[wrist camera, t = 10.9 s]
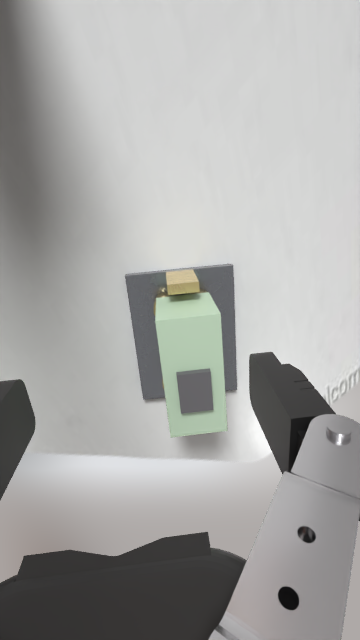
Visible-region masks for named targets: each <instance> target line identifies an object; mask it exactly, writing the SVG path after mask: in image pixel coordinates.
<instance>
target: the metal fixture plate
mask: <svg viewBox="0 0 360 640" xmlns="http://www.w3.org/2000/svg"><path fill="white" fill-rule="evenodd" d="M125 278H126V285H127V292H128V298H129V305H130V312H131V319H132V326H133V332H134V339H135V346H136V353H137V359H138V366H139V373H140V380H141V386H142V393H143V400H144V399H153V398H163V397H165V391H164V383H163V376H162V368H161V361H160V353H159V346H158V338H157V331H156V323H155V315H156V298H161V297H170V296H179V295H188V294H197V293H206V292H209V293H210V295H211V297H212V299H213V301H214V303H215V304H216V306H217V308H218V310H219V312H220V313H221V328H222V345H223V363H224V380H225V391H228V390H237V376H236V343H235V310H234V277H233V265H232V264H224V265H214V266H204V267H193V268H183V269H173V270H163V271H153V272H142V273H132V274H126V275H125Z"/></svg>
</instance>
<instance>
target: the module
mask: <svg viewBox="0 0 360 640" xmlns="http://www.w3.org/2000/svg"><path fill="white" fill-rule="evenodd" d="M155 323H156V331H157V338H158V346H159V353H160V361H161V368H162V376H163V383H164V391H165V398H166V406H167V414H168V421H169V429H170V436H171V438H172V437H180V436H188V435H197V434H205V433H214V432H222V431H227V415H226V398H225V380H224V363H223V345H222V328H221V313H220V312H219V310H218V308H217V306H216V304H215V303H214V301H213V299H212V297H211V295H210V293H209V292H206V293H197V294H188V295H179V296H170V297H161V298H156V315H155Z"/></svg>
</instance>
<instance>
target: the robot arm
mask: <svg viewBox="0 0 360 640" xmlns="http://www.w3.org/2000/svg"><path fill="white" fill-rule="evenodd" d="M249 390H250V400H251V404H252V408H253V410H254V412H255V415H256V417H257V419H258V421H259V423H260V426H261V428H262V430H263V432H264V434H265V437H266V439H267V441H268V443H269V446H270V448H271V450H272V452H273V454H274V457H275V459H276V461H277V463H278V465H279V468H280V470H281V472H282V474H283V475H282V477H281V480H280V482H279V485H278V487H277V490H276V492H275V494H274V497H273V499H272V501H271V504H270V506H269V509H268V511H267V513H266V516H265V518H264V521H263V523H262V526H261V528H260V530H259V533H258V535H257V537H256V540H255V542H254V545H253V547H252V549H251V552H250V554H249V557H248V559H247V560H245V559H243V558H241V557H239V556H237V555H235V554H233V553H230V552H227V551H224V550H220V549H215V548H210V543H209V536H208V532H204V533H196V534H188V535H180V536H173V537H165V538H161V539H159V540H156V541H154V542H152V543H149V544H147V545H144V546H142V547H139V548H137V549H134V550H132V551H129V552H127V553H124V554H122V555H119V556H106V555H100V554H93V553H86V552H80V551H73V550H65V551H58V552H50V553H43V554H35V555H27V556H24V558H23V561H22V564H21V566H20V569H19V572H18V575H15V576H13V577H11V578H9V579H7V580H5V581H3V582H1V583H0V640H341V637H342V630H343V623H344V617H345V610H346V603H347V596H348V590H349V583H350V576H351V569H352V562H353V555H354V549H355V542H356V535H357V528H358V521H360V424H359V423H358V422H356V421H354V420H353V419H350V418H348V417H345V416H341V415H336V413H335V412H334V411H333V410H332V409H331V407H330V406H329V405H328V404H327V402H326V401H325V400H324V399H323V397H322V396H321V395H320V394H319V392H318V391H317V390H316V389H314V386H313V385H312V384H311V383H310V382H308V379H307V378H306V376H305V375H304V374H303V373H302V372H301V371H300V370H299V369H297V368H295V367H293V366H292V365H290V364H283V365H281V363H280V362H279V360H278V359H277V358H276V356H275V355H274V354H273V352H265V353H256V354H251V355H250V359H249ZM34 430H35V416H34V412H33V409H32V406H31V403H30V399H29V396H28V393H27V390H26V387H25V384H24V382H23V381H22V380H20V379H18V380H9V381H0V500H1V498H2V496H3V494H4V492H5V490H6V488H7V486H8V484H9V482H10V480H11V478H12V476H13V474H14V472H15V470H16V468H17V466H18V463H19V462H20V460H21V458H22V456H23V454H24V452H25V450H26V448H27V446H28V444H29V442H30V440H31V438H32V436H33V434H34Z"/></svg>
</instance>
